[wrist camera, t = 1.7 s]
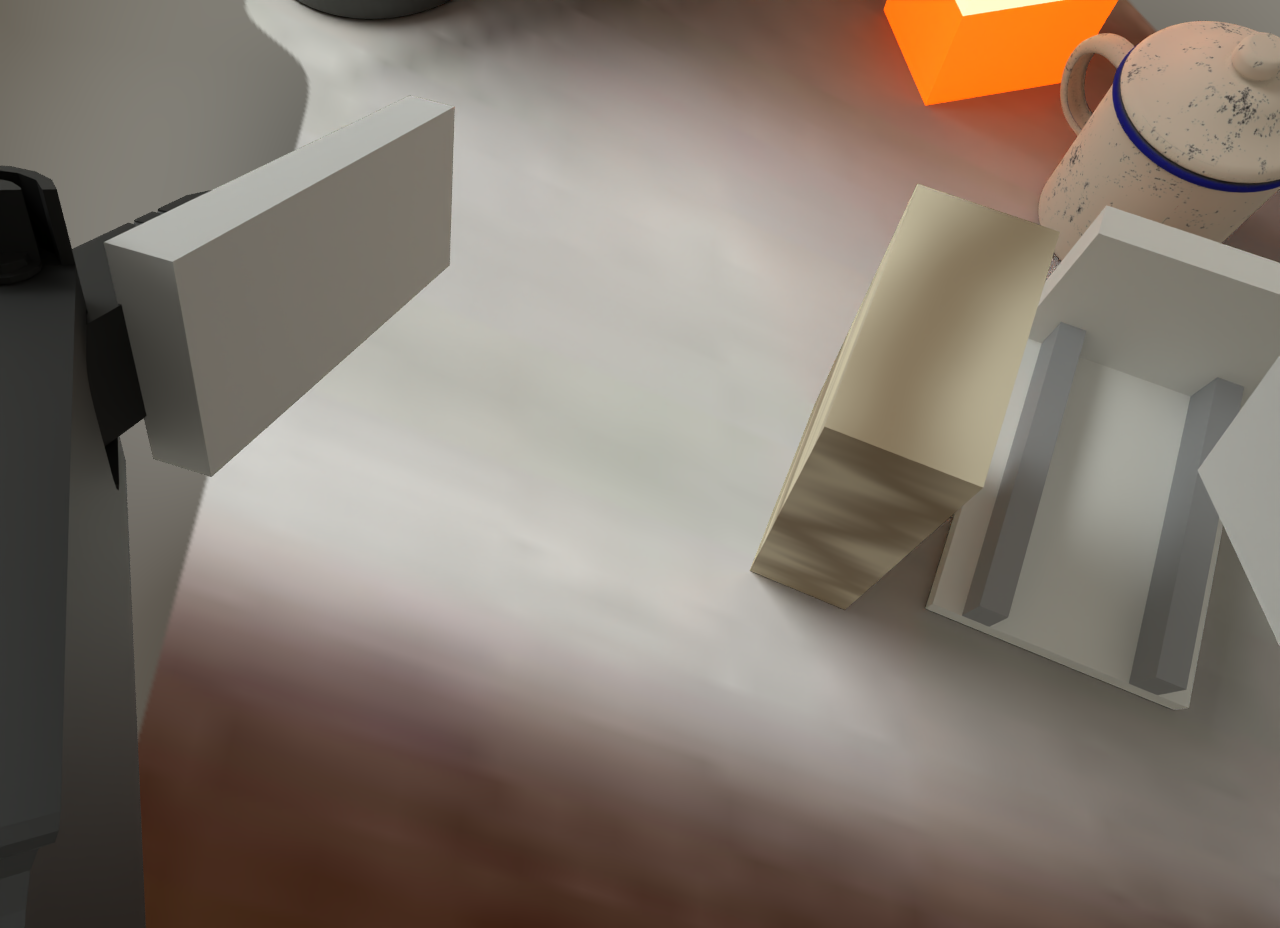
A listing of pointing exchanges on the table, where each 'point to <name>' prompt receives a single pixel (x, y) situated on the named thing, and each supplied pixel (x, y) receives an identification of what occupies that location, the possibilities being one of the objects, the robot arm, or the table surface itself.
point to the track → (1115, 457)
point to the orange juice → (990, 42)
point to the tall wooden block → (909, 398)
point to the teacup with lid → (1170, 132)
